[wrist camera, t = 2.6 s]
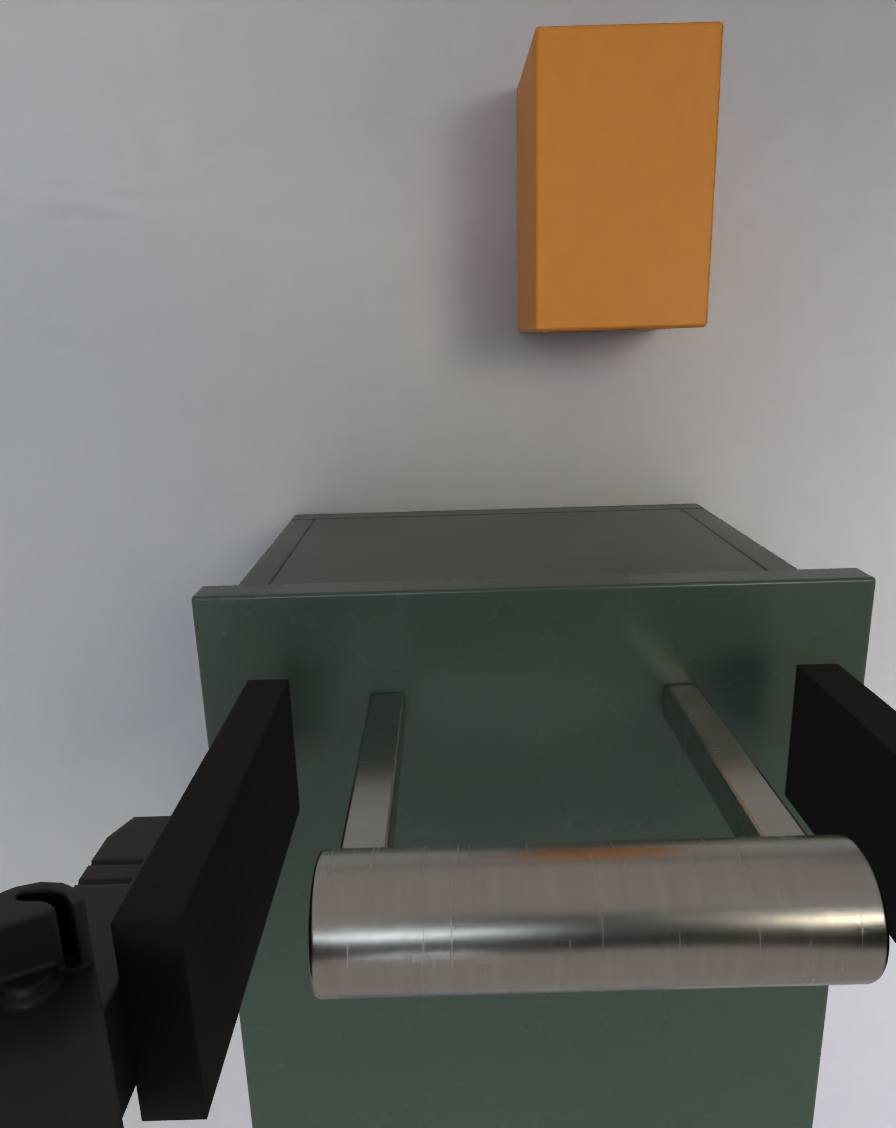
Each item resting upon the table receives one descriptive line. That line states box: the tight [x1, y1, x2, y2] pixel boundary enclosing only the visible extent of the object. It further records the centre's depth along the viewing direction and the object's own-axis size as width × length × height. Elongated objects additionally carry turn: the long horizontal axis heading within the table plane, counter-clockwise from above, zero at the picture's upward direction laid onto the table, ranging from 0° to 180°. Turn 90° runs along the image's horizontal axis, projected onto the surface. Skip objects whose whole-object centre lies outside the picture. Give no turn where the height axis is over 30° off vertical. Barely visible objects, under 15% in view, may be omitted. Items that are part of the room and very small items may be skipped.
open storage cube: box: [239, 504, 798, 585], centre depth 24 cm, size 14×14×11 cm
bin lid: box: [192, 568, 889, 1128], centre depth 15 cm, size 14×14×8 cm
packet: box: [517, 22, 723, 333], centre depth 23 cm, size 7×4×5 cm, turn 1°
